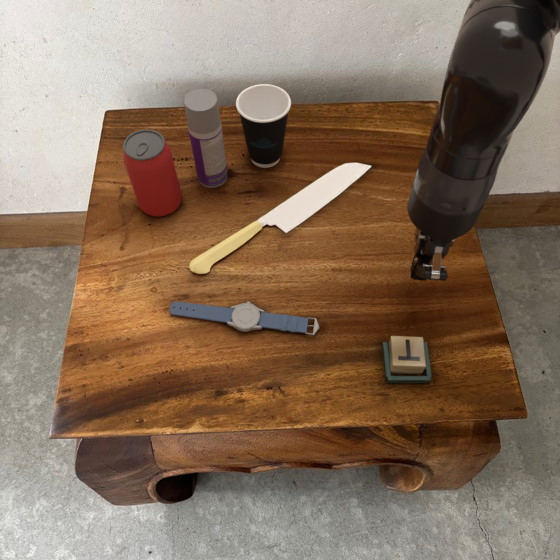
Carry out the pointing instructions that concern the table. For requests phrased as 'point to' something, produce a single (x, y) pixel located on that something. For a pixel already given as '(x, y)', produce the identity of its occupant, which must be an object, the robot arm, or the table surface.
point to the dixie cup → (264, 122)
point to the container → (206, 137)
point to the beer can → (152, 172)
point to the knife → (286, 212)
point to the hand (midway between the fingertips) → (418, 274)
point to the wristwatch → (244, 317)
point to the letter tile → (406, 355)
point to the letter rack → (406, 378)
